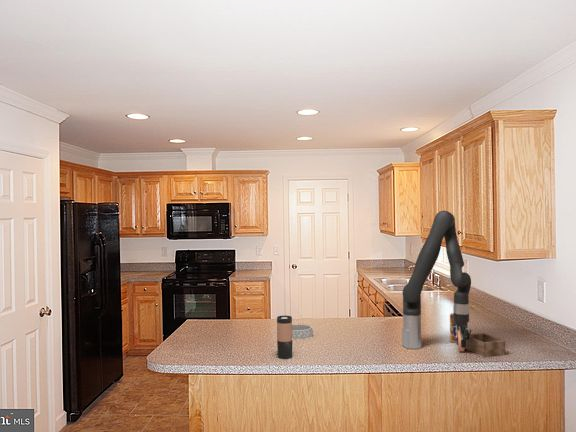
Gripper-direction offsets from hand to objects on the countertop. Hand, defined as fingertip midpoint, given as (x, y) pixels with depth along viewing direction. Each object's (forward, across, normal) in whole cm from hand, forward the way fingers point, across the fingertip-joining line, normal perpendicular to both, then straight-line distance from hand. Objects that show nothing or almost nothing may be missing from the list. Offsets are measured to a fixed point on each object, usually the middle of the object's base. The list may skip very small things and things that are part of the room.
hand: (461, 346), depth 236 cm
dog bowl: (+5, -55, -71) cm, 90 cm away
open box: (+3, +2, +12) cm, 12 cm away
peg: (+2, 0, 0) cm, 2 cm away
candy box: (+3, -16, +9) cm, 19 cm away
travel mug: (+4, -17, -88) cm, 89 cm away
